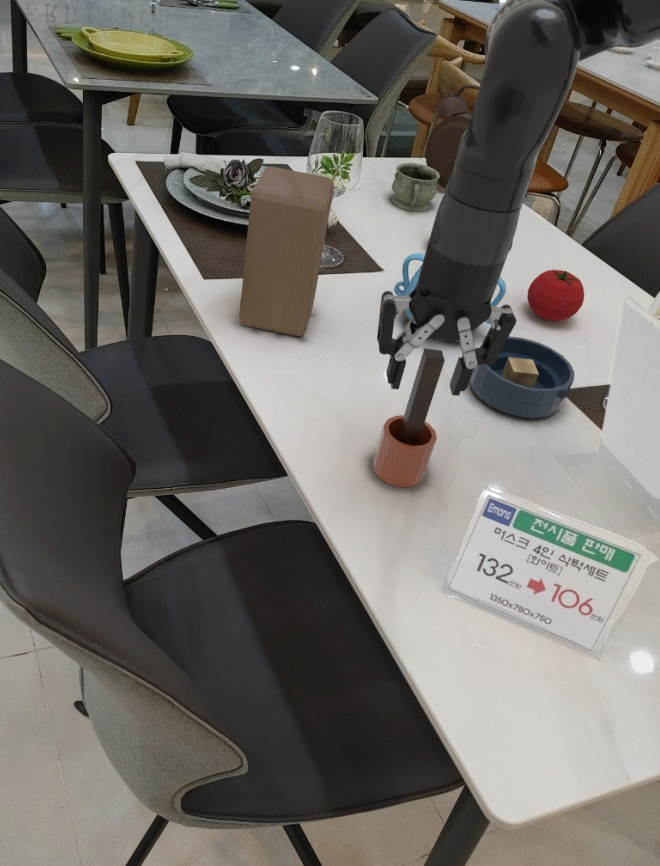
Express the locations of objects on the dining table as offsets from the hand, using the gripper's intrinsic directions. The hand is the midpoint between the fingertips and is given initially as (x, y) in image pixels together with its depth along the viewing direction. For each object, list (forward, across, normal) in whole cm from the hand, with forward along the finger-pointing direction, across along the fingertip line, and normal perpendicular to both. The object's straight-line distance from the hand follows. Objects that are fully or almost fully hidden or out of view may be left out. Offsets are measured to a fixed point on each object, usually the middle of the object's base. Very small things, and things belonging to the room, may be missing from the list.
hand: (423, 387), depth 84 cm
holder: (+12, 0, 0) cm, 12 cm away
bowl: (+12, -19, -20) cm, 30 cm away
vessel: (+12, -12, -83) cm, 85 cm away
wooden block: (+12, +15, -33) cm, 38 cm away
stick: (+12, 0, 0) cm, 12 cm away
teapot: (+12, -11, -37) cm, 41 cm away
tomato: (+12, -30, -43) cm, 54 cm away
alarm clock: (+12, -22, -92) cm, 95 cm away
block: (+12, -19, -20) cm, 30 cm away
